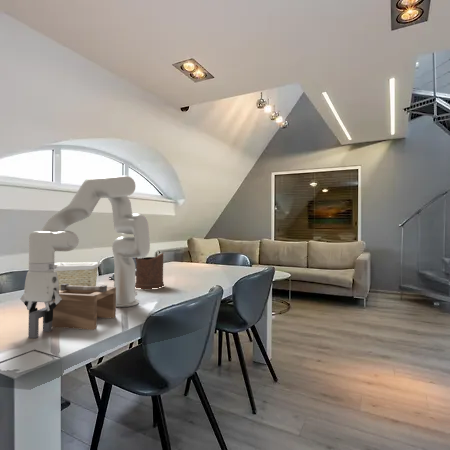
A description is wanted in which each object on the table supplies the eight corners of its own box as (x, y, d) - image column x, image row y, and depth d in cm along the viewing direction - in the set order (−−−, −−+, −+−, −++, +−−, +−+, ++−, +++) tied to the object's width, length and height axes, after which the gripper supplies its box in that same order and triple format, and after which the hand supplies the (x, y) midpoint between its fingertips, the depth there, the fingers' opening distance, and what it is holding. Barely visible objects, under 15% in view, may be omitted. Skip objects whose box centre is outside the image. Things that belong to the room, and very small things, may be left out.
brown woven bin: (161, 290, 179) (162, 246, 179) (119, 289, 180) (120, 246, 180) (167, 284, 198) (168, 244, 198) (130, 283, 198) (130, 244, 198)
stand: (74, 314, 129) (75, 280, 129) (115, 316, 126) (116, 282, 127) (47, 326, 113) (47, 288, 113) (93, 329, 111) (94, 290, 111)
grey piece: (45, 329, 110) (46, 307, 110) (52, 330, 110) (52, 307, 110) (28, 337, 102) (28, 313, 102) (35, 338, 102) (35, 313, 102)
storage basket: (46, 292, 170) (46, 265, 170) (56, 286, 185) (56, 261, 185) (92, 291, 174) (93, 264, 174) (98, 285, 190) (99, 261, 190)
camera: (116, 278, 217) (116, 272, 217) (121, 281, 209) (121, 274, 209) (108, 279, 213) (108, 273, 213) (114, 281, 205) (114, 275, 205)
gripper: (71, 267, 108) (70, 319, 108) (27, 265, 111) (26, 316, 111) (57, 270, 101) (56, 326, 101) (10, 268, 103) (9, 323, 103)
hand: (40, 320), depth 106 cm, fingers open, 5 cm apart
